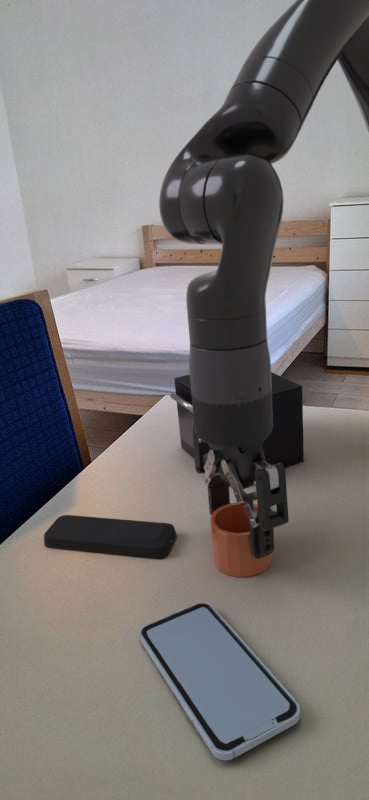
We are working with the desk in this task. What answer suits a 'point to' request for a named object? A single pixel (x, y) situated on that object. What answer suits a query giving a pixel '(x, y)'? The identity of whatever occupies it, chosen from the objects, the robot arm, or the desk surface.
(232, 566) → the cup
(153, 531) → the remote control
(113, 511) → the desk surface
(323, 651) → the desk surface
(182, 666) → the smartphone
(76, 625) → the desk surface
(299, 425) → the toaster oven
